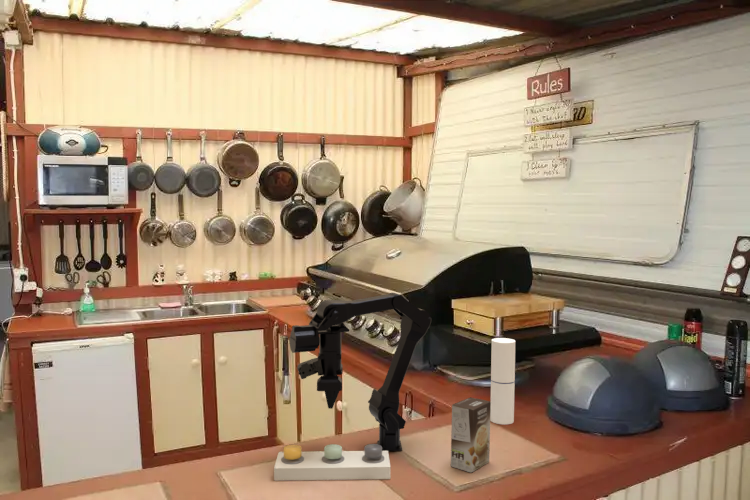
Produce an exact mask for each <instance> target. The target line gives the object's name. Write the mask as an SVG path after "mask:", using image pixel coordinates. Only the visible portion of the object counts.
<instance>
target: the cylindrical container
mask: <svg viewBox="0 0 750 500" xmlns="http://www.w3.org/2000/svg"><path fill="white" fill-rule="evenodd" d="M490 350H491V358H490V359H491V360H490V361H491V363H490V364H491V365H490V402H491V412H490V422H492V423H494V424H497V425H511V424H513V423H514V422H515V387H516V386H515V383H516V382H515V381H516V380H515V378H516V374H515V373H516V340H515V339H513V338H508V337H507V338H506V337H495V338H492V339H491V349H490Z"/></svg>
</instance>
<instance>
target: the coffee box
mask: <svg viewBox="0 0 750 500" xmlns="http://www.w3.org/2000/svg"><path fill="white" fill-rule="evenodd" d="M490 412H491V400H489V401H488V400H486V399H482V398H476V397H475V398H474V397H468V398H465V399H462V400H461V401H458V402H456V403H452V404H451V435H450V436H451V437H450V438H451V439H450V440H451V442H450V445H451V446H450V447H451V448H450V467H452V468H455V469H457V470H461V471H464V472H467V473H473V472H475V471H477V470H478V469H480V468H482V467H483V466H485V465H487V464H488V463H489V462H490V449H491V447H490V442H491V441H490V440H491V420H490Z"/></svg>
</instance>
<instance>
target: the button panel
mask: <svg viewBox="0 0 750 500" xmlns="http://www.w3.org/2000/svg"><path fill="white" fill-rule="evenodd" d="M276 457H277V458H276V460H275V463H274V466H273V467H274V468H273V481H274V482H275V481H276V482H277V481H332V480H334V481H338V480H339V481H340V480H342V481H343V480H345V481H347V480H350V481H351V480H391V461H390V455H389V451H382V456H381V457H380V458H376V459H370V458H367V457H365V456H364V450H342V456H341V457H340V458H338V459H327V458H325V457H324V450H323V451H320V450H319V451H317V450H316V451H315V450H313V451H302V456H301V457H300V458H298V459H294V460H289V459H285V458H284V451H278V454H277V456H276Z"/></svg>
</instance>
